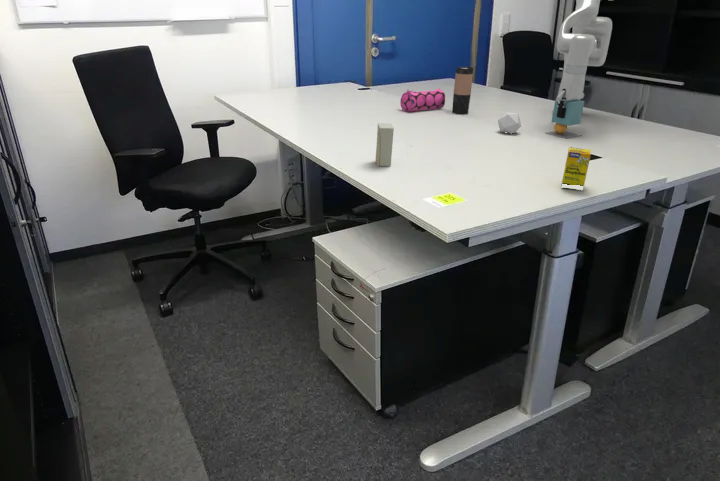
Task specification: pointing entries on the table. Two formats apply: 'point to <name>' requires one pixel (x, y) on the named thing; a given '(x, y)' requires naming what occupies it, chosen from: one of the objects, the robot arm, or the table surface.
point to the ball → (560, 128)
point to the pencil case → (422, 100)
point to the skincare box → (384, 144)
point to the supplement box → (576, 166)
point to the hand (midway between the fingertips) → (566, 116)
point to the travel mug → (462, 90)
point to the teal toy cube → (569, 113)
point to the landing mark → (564, 134)
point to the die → (509, 122)
